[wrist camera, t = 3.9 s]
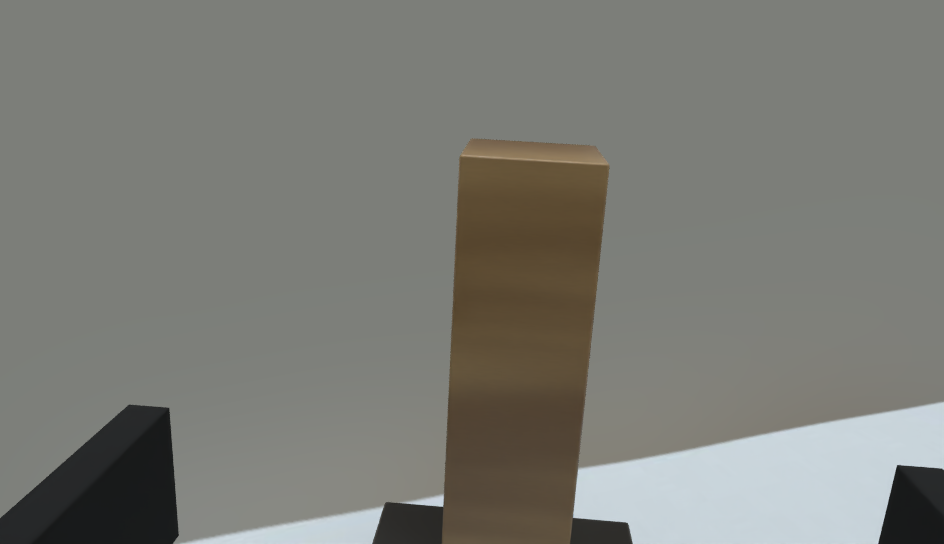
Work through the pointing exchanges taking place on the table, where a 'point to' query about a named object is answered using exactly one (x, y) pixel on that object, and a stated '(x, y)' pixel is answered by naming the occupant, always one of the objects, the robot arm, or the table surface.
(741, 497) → the table surface
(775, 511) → the table surface
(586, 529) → the brush
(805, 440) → the table surface
